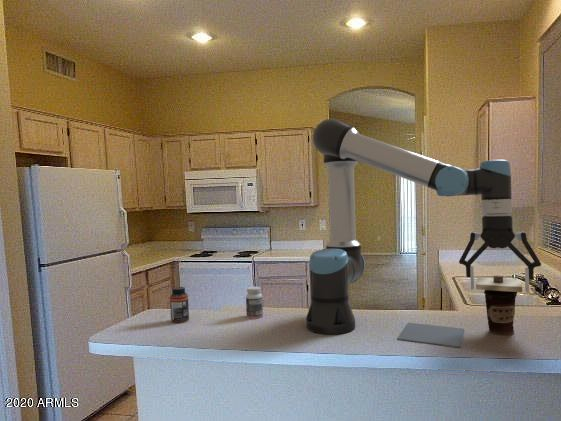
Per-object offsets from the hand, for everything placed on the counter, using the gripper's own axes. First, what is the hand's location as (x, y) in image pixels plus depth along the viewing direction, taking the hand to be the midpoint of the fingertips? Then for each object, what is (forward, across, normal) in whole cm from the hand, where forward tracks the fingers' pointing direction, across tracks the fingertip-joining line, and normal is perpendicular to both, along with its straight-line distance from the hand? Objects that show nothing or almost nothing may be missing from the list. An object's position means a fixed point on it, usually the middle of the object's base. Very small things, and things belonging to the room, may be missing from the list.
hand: (499, 290), depth 114 cm
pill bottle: (+12, -74, -12) cm, 76 cm away
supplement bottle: (+12, -95, -26) cm, 99 cm away
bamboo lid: (-1, 0, 0) cm, 1 cm away
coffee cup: (+12, 0, 0) cm, 12 cm away
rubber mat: (+12, -17, -9) cm, 23 cm away
